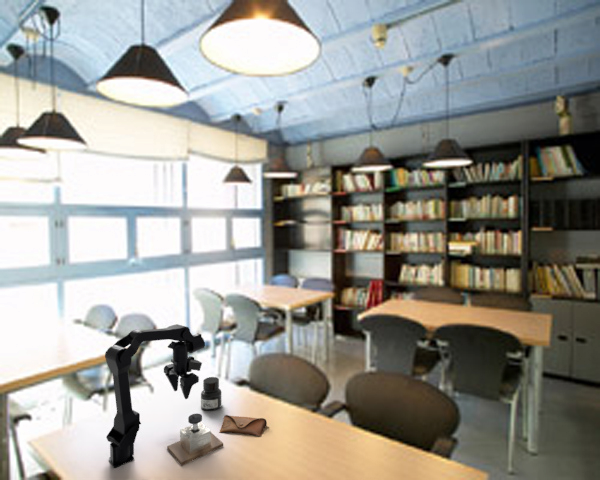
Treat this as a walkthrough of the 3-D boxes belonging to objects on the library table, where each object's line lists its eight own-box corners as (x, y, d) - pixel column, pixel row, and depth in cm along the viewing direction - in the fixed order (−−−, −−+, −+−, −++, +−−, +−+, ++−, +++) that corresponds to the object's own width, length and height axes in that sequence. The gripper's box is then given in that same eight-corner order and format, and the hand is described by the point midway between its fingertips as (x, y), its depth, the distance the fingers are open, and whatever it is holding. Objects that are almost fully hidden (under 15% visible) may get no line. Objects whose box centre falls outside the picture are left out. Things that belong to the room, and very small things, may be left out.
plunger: (192, 439, 127) (192, 422, 127) (186, 433, 131) (186, 416, 131) (204, 433, 131) (204, 417, 130) (198, 428, 134) (198, 412, 134)
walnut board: (181, 465, 121) (181, 462, 121) (167, 449, 130) (167, 446, 130) (223, 446, 132) (223, 443, 132) (207, 432, 141) (207, 429, 141)
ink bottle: (196, 409, 158) (196, 382, 157) (207, 400, 166) (206, 374, 166) (215, 413, 155) (215, 385, 155) (225, 403, 164) (225, 377, 163)
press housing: (190, 454, 125) (189, 439, 125) (180, 444, 131) (180, 429, 131) (210, 445, 131) (210, 430, 131) (200, 435, 137) (200, 421, 136)
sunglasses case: (217, 433, 140) (220, 414, 143) (222, 433, 146) (225, 415, 149) (262, 437, 138) (264, 417, 141) (265, 436, 144) (267, 418, 147)
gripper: (210, 357, 143) (211, 396, 143) (188, 346, 156) (188, 381, 157) (184, 365, 135) (184, 406, 136) (162, 352, 148) (163, 389, 149)
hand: (181, 394), depth 144 cm, fingers open, 9 cm apart
